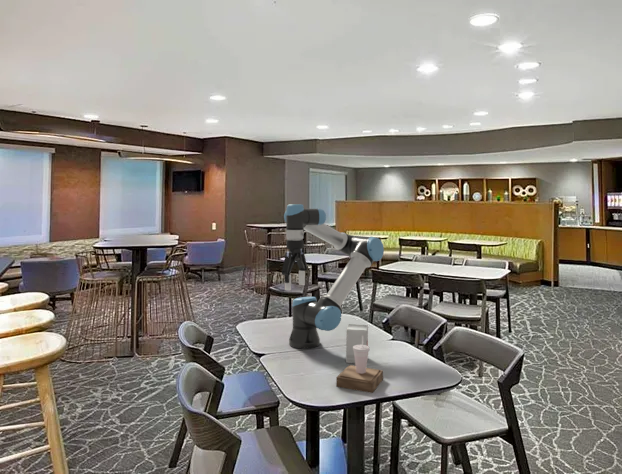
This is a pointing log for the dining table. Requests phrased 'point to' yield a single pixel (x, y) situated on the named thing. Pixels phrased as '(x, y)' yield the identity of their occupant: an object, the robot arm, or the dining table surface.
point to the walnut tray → (359, 379)
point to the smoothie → (361, 357)
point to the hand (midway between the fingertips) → (295, 287)
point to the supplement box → (355, 339)
